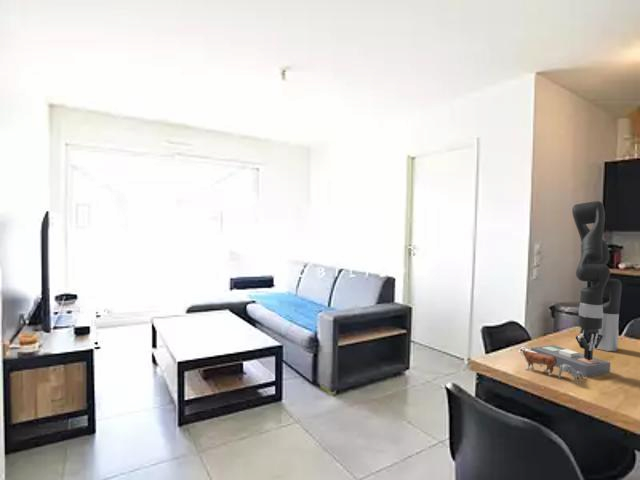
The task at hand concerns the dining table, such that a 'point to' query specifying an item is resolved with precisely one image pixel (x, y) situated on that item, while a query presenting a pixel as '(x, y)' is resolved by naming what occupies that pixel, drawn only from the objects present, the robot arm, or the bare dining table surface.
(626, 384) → the dining table surface
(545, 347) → the sage button
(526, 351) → the bull figurine
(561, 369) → the grey human figurine
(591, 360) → the terracotta button
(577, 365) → the button panel
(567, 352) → the cream button
